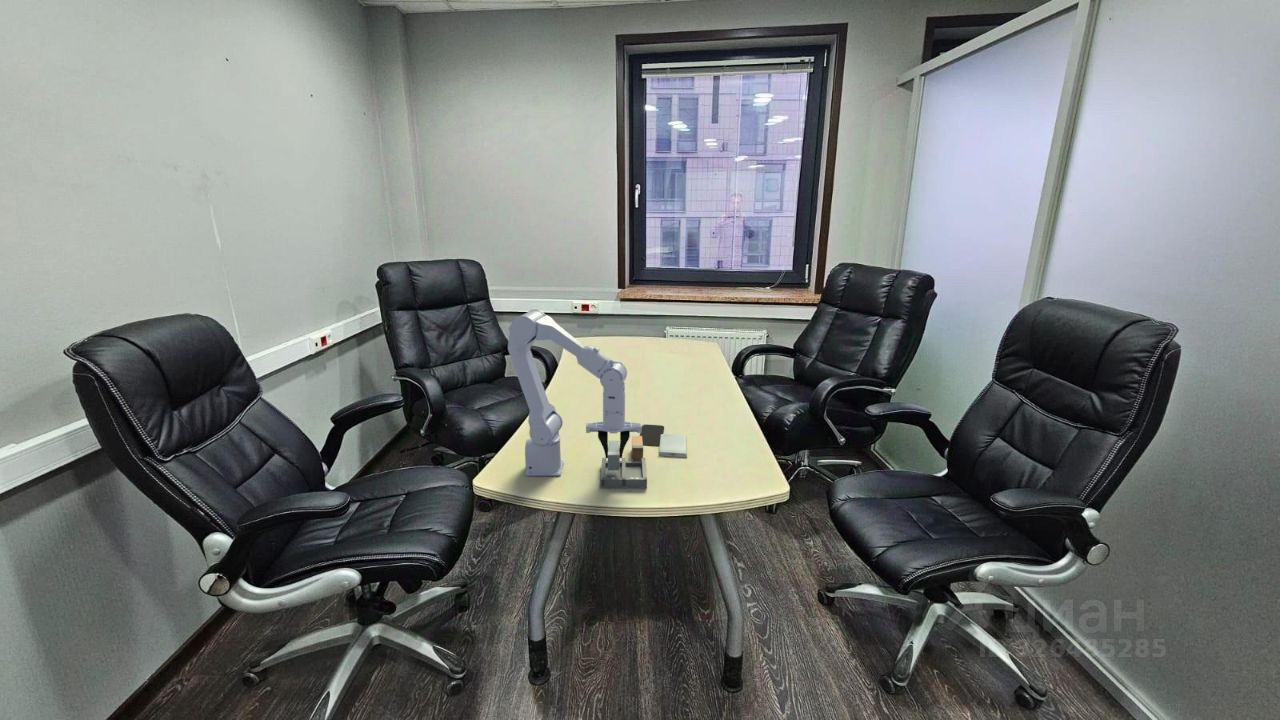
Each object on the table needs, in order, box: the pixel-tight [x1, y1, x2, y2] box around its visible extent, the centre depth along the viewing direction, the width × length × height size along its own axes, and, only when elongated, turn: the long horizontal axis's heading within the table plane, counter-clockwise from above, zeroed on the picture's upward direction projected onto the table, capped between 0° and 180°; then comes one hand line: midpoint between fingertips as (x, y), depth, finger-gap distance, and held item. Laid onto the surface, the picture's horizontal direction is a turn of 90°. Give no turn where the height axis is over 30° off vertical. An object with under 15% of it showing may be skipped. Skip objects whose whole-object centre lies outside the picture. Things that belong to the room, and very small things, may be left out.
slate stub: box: [607, 440, 621, 470], centre depth 140 cm, size 3×8×5 cm, turn 2°
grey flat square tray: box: [600, 457, 648, 489], centre depth 141 cm, size 12×12×3 cm
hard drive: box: [658, 433, 688, 458], centre depth 159 cm, size 2×8×12 cm
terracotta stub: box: [631, 435, 644, 461], centre depth 153 cm, size 3×8×5 cm, turn 2°
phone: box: [639, 424, 665, 447], centre depth 167 cm, size 7×1×15 cm
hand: (613, 456), depth 140 cm, fingers closed on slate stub, 3 cm apart
